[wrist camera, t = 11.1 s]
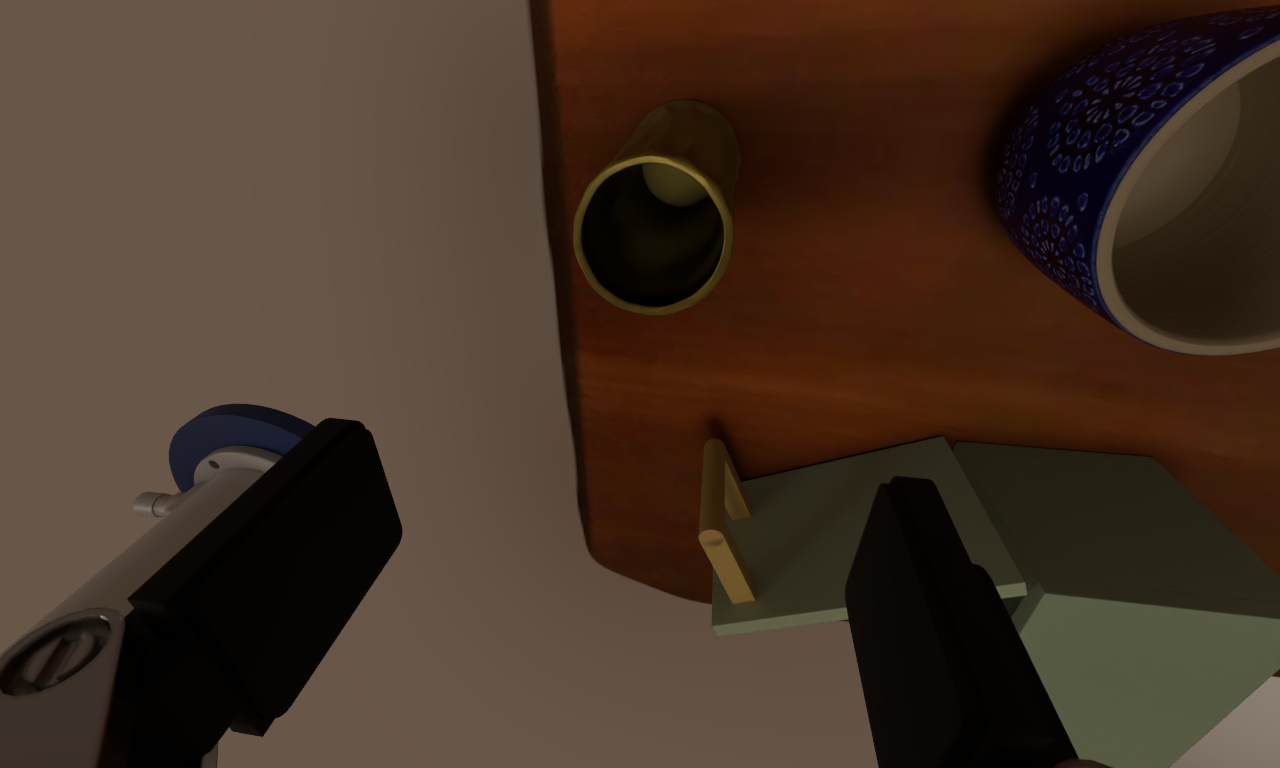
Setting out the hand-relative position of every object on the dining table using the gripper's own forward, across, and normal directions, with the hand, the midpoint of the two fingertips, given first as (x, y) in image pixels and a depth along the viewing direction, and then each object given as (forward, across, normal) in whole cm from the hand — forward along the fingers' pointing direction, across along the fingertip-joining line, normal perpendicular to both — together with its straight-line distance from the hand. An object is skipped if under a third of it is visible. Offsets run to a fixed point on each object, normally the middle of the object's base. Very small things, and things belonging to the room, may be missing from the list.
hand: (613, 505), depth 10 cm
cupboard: (+24, -25, +23) cm, 41 cm away
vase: (+24, +1, -2) cm, 24 cm away
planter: (+24, -19, -3) cm, 31 cm away
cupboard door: (+24, -9, +15) cm, 30 cm away
